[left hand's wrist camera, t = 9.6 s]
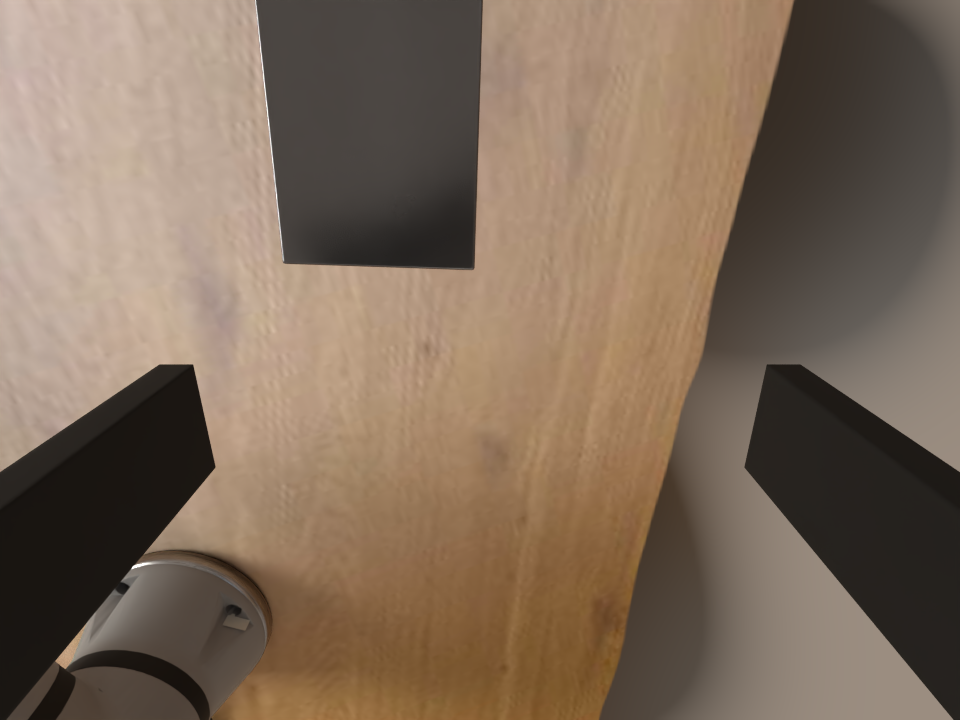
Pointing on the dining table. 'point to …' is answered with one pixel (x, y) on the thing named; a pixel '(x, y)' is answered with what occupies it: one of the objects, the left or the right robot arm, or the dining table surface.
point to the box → (374, 129)
